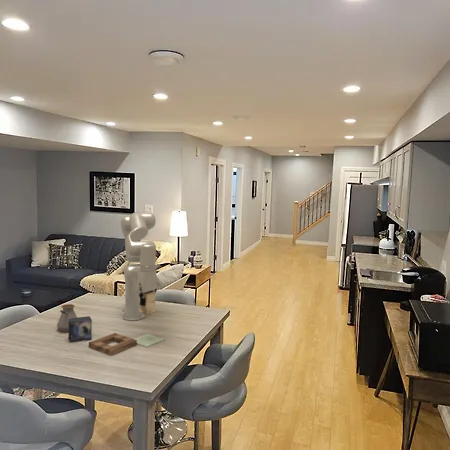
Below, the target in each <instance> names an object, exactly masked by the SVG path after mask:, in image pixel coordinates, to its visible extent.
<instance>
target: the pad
mask: <svg viewBox="0 0 450 450" xmlns="http://www.w3.org/2000/svg"><path fill="white" fill-rule="evenodd" d="M134 339H135V340H137V345H138V346H142V347H145V348H149V347H151V346H154V345H156V344H159V343H161V342H163V341H165V338H162V337H159V336H156V335H153V334H149V333H146V334H143V335H140V336H138V337H135V338H134Z"/></svg>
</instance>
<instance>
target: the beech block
mask: <svg viewBox="0 0 450 450" xmlns="http://www.w3.org/2000/svg"><path fill="white" fill-rule="evenodd" d="M142 295H143V293H142ZM139 312H142V313H143V314H144V315H148V314H152V313H154V312H156V293H155V292H154V291H148V292H146V294H145V306H142V305H140V297H139Z"/></svg>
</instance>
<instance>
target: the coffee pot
mask: <svg viewBox="0 0 450 450" xmlns="http://www.w3.org/2000/svg"><path fill="white" fill-rule="evenodd" d="M61 308H62V310H60V311H59V312H60V313H61V314H59V312H58V315H60V317H59V319H58V320H57V321H58V322H57V323H56V327H57V329H58V330H60V331H61V332H63V333H66V332H67V333H69V318H78V316H77V314H76V312H75V309H74V308H75V304H68V303H67V304H63V305H61Z"/></svg>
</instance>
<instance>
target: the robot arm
mask: <svg viewBox="0 0 450 450" xmlns="http://www.w3.org/2000/svg"><path fill="white" fill-rule="evenodd" d="M156 219H157V218H156V216H155V214H154V213H152V212H147V211H145V212H133V213H131V214H130V215H126V216H123V217H122V218H121V219H120V229H121V232H122V235H123V237H124V246H125V258H126V259H125V260H126V261H127V262H129V263H135V264H128V265H126V266H125V267H124V269H123V275H124V277H123V278H124V283H125V287H124V289H125V294H124V295H125V301H124V303H125V304H124V305H125V307H123V309H121V312H122V313H123V315H122V319H123V320H124V321H140V320H143V319H144V318H145V313H142V312H139V297H140V305H142V306H145V294H146V292H148V291H154V292H155V294H156V292H157V290H158V289H159V288H160V286H159V284H158V278H157V277H158V276H157V270H156V267H157V264H156V254H157V253H156V251H157V245H156V244H155V242H154V241H153V240H152V241H151V240H142V239H145V238H146V237H147V236H148V233H149V231H150V230H151V229H153V228H155V225H156V222H157V221H156ZM140 240H141V241H140ZM137 263H138V264H137ZM142 293H143V295H142Z"/></svg>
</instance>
